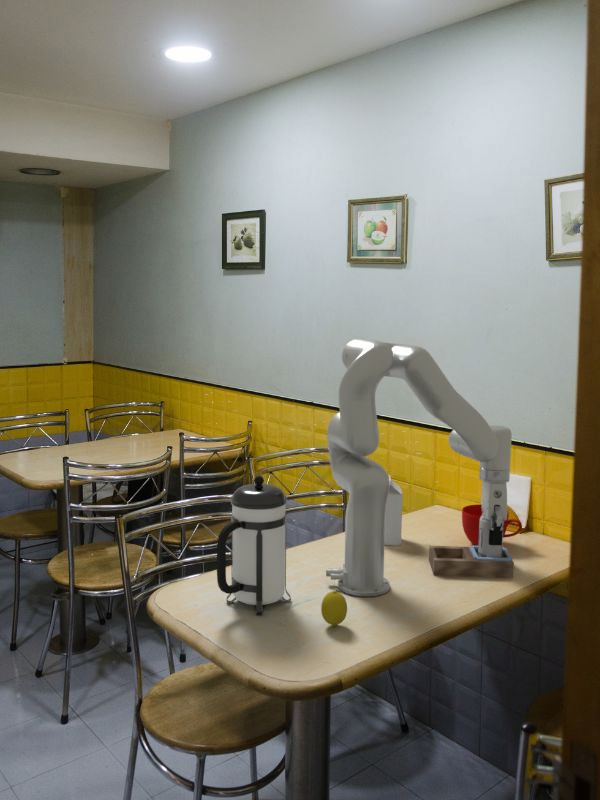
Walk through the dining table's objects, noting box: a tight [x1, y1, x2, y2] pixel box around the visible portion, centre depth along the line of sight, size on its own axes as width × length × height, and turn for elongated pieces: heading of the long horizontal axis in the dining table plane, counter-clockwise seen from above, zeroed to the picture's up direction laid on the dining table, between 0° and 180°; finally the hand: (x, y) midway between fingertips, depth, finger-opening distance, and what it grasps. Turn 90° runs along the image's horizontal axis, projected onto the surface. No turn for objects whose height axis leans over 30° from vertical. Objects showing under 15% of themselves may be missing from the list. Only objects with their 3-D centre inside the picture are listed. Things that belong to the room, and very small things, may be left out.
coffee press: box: [216, 475, 292, 616], centre depth 167 cm, size 17×16×30 cm
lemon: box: [320, 590, 348, 627], centre depth 158 cm, size 6×6×8 cm
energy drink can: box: [478, 513, 504, 558], centre depth 191 cm, size 6×6×15 cm
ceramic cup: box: [461, 504, 523, 546], centre depth 210 cm, size 13×17×10 cm
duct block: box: [428, 545, 515, 579], centre depth 192 cm, size 20×11×5 cm, turn 87°
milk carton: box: [384, 474, 403, 547], centre depth 212 cm, size 7×7×19 cm
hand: (491, 538), depth 191 cm, fingers open, 9 cm apart
